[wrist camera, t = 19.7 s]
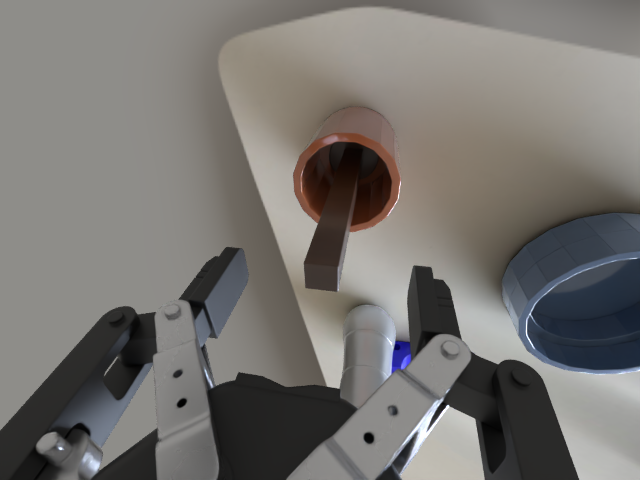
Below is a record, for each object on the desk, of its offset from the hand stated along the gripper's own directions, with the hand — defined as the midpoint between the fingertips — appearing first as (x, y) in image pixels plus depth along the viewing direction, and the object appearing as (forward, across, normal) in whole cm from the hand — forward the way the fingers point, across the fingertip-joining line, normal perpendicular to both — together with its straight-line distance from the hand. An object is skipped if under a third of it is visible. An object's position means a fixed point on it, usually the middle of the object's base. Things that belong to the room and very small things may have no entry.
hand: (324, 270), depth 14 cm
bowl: (+17, -24, +12) cm, 32 cm away
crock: (+17, 0, 0) cm, 17 cm away
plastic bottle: (+17, -3, +22) cm, 28 cm away
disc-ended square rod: (+17, 0, 0) cm, 17 cm away
